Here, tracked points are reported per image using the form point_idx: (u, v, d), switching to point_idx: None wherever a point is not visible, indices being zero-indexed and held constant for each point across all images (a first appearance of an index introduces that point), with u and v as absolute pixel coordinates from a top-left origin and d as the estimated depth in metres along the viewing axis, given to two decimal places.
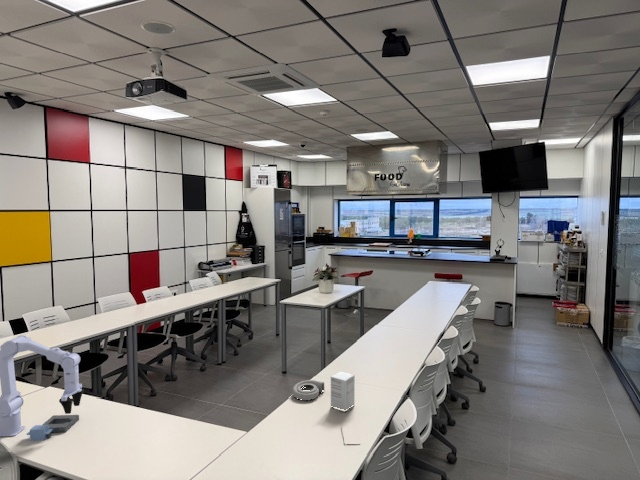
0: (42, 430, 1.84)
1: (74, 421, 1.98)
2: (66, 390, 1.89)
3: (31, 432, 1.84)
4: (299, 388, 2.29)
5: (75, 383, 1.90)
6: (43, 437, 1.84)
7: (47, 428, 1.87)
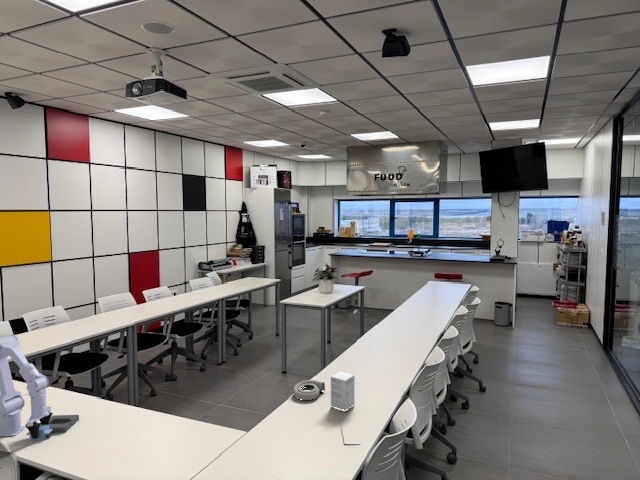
0: (42, 430, 1.84)
1: (74, 421, 1.98)
2: (33, 414, 1.82)
3: None
4: (300, 388, 2.29)
5: (42, 407, 1.84)
6: (43, 437, 1.84)
7: (47, 428, 1.86)
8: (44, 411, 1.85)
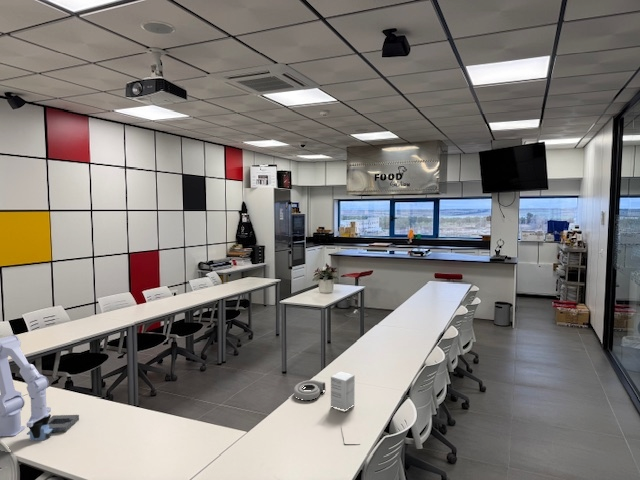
0: (42, 430, 1.84)
1: (74, 421, 1.98)
2: (33, 415, 1.83)
3: None
4: (300, 388, 2.29)
5: (42, 408, 1.84)
6: (43, 437, 1.84)
7: (47, 428, 1.87)
8: (44, 412, 1.85)
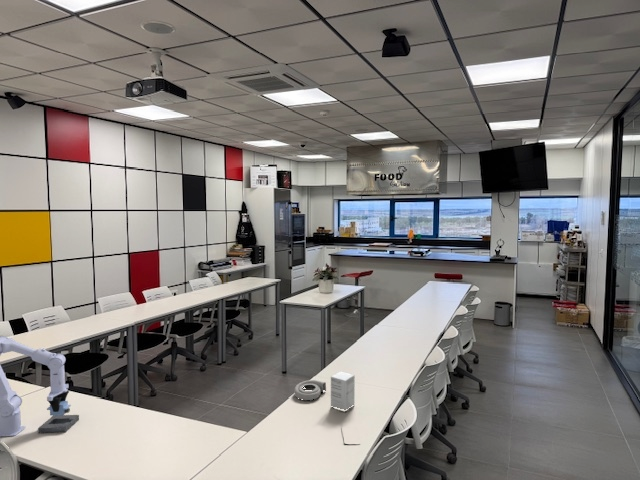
0: (61, 405, 1.94)
1: (74, 421, 1.98)
2: (52, 390, 1.92)
3: (51, 407, 1.93)
4: (301, 388, 2.29)
5: (61, 384, 1.94)
6: (62, 412, 1.94)
7: (66, 404, 1.96)
8: (63, 387, 1.94)
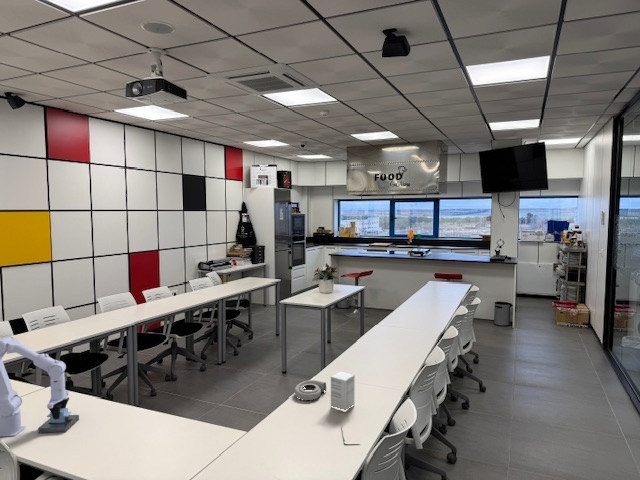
0: (62, 413, 1.94)
1: (74, 421, 1.98)
2: (52, 398, 1.92)
3: (51, 414, 1.94)
4: (301, 388, 2.29)
5: (61, 391, 1.94)
6: (62, 419, 1.94)
7: (66, 411, 1.97)
8: (63, 395, 1.95)
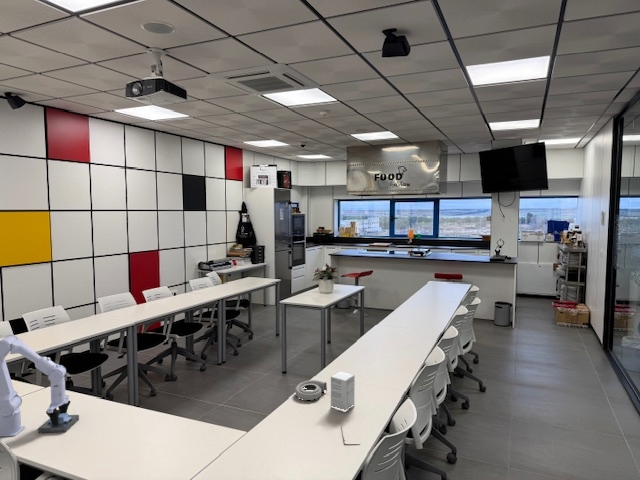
0: (62, 418, 1.94)
1: (74, 421, 1.98)
2: (53, 402, 1.93)
3: None
4: (302, 388, 2.29)
5: (61, 396, 1.94)
6: None
7: (66, 416, 1.97)
8: (63, 399, 1.95)
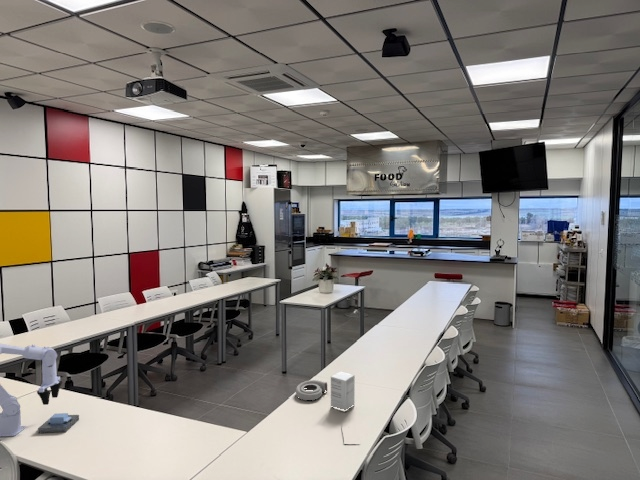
0: (62, 418, 1.94)
1: (74, 421, 1.98)
2: (44, 382, 1.98)
3: (51, 419, 1.94)
4: (302, 388, 2.29)
5: (53, 376, 1.99)
6: None
7: (66, 416, 1.97)
8: (54, 379, 2.00)
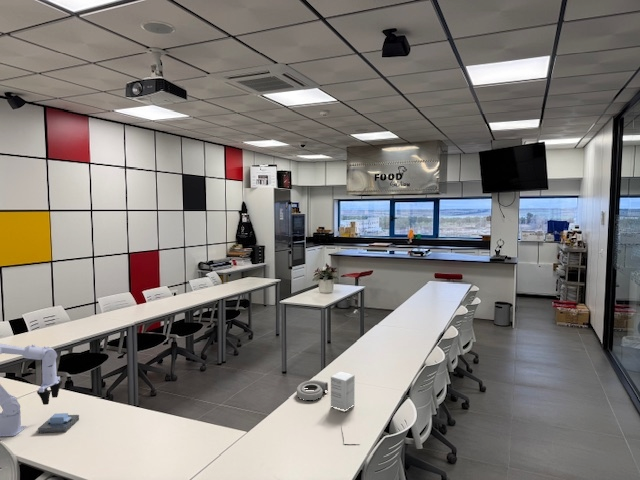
0: (62, 418, 1.94)
1: (74, 421, 1.98)
2: (44, 382, 1.98)
3: (51, 419, 1.94)
4: (303, 388, 2.29)
5: (53, 376, 1.99)
6: None
7: (66, 416, 1.97)
8: (54, 379, 2.00)
